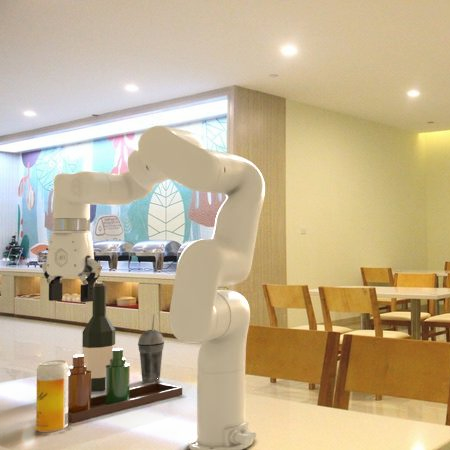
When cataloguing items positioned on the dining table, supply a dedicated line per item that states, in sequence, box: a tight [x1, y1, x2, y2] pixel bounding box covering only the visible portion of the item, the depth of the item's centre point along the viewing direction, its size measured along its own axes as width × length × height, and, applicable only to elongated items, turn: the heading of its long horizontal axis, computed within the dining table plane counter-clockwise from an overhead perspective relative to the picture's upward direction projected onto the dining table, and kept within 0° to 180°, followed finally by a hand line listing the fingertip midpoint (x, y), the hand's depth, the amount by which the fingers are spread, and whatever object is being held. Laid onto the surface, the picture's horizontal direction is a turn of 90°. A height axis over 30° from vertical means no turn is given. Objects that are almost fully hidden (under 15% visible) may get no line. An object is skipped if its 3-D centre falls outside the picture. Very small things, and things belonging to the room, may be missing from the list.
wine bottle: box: [81, 282, 116, 393], centre depth 171 cm, size 8×8×30 cm
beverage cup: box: [137, 313, 165, 384], centre depth 179 cm, size 7×7×20 cm
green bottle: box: [104, 347, 131, 405], centre depth 153 cm, size 6×6×14 cm
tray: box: [68, 381, 183, 424], centre depth 153 cm, size 11×30×3 cm, turn 147°
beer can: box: [35, 359, 69, 433], centre depth 135 cm, size 6×6×15 cm
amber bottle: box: [68, 354, 92, 413], centre depth 144 cm, size 6×6×14 cm
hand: (71, 300), depth 141 cm, fingers open, 9 cm apart
